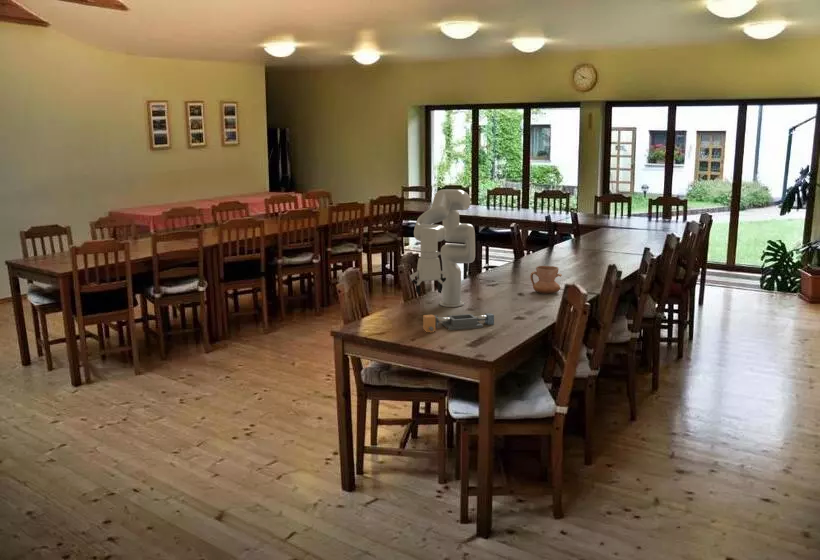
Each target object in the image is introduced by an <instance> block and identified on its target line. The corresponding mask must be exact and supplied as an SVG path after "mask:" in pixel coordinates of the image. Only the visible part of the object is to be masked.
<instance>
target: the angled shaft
mask: <svg viewBox="0 0 820 560" xmlns="http://www.w3.org/2000/svg"><path fill="white" fill-rule="evenodd" d="M434 316H435V328H437V327H438V326H439V323H441V324H442V323H450V318H447V317H443V316H442V317H439V315H434ZM437 325H438V326H437Z"/></svg>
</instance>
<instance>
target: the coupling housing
mask: <svg viewBox="0 0 820 560" xmlns="http://www.w3.org/2000/svg"><path fill="white" fill-rule="evenodd" d="M475 316H476V315H474V314H472V313H462V314H452V315H447V317H446V318H450V323H441V324H442V325H443V326H444V327H445V328H446V327H447V328H448V329H449V330H448V329H447V328H446V329H447V330H448V331H456V330H457V331H458V330H459V331H460V330H470V329H471V330H472V329H481V328H483V327H484V325H483V324H482V323H481V322H480V321H477V318H476V317H475Z"/></svg>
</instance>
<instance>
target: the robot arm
mask: <svg viewBox="0 0 820 560" xmlns="http://www.w3.org/2000/svg"><path fill="white" fill-rule="evenodd" d="M470 205H471V197H470V195H469V194H468V192H466V191H464V190H463V189H447V188H445V189H440V190H437V192H436V193H435V194H434V197H433V201H432V205H431V207H430V209H428V210H426V211H424V212H423V213H422V214H420V215H419V216H418V217H417V220H416V223H415V225H414V230H413V237H414V238H415V240H417V241H419V242H420V257H418V260H417V267H416V271H415V272H414V273H412V274H410V275H409V277H410V279H411V281H412V282H413V284H414V285H415V292H416V293H417V295H421V283H422V282H431V281H432V282H433V281H434V282H435V281H437V282H438V283H437V293H439V294H442V300H440V301H439V305H440V306H441V307H445V308H446V307H447V308H457V307H459V308H460V307H462V306H464V305H465V302H464V301H463V300H462V269H461V267H460V266H459V264H471V263H473V262H474V261H475V260H476V259H475V258H476V232H475V227H474V225H473V224H472V223H464V222H463V223H461V222H460V212H459V211H466V210H468V209H469V208H470ZM440 222H442V224H437V223H440ZM442 241H445V242H449V243H446V244H444V245H442V246H441V248H440V251H439V250H438V249H439V248H438V247H439V246H438V245H439V244H438V243H439V242H442ZM439 256H440V257H441V260H440V257H439ZM441 265H442V270H441ZM415 277H416V278H417V280H416V279H415Z"/></svg>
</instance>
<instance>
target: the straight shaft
mask: <svg viewBox="0 0 820 560" xmlns="http://www.w3.org/2000/svg"><path fill="white" fill-rule="evenodd" d="M474 316H475V317H476V318H477V321H478V322H481V321H484V324H486V325H488V326H491V325H492V326H493V325H495V314H493V313H492V312H488V313H484V314H483V315H482V314H481V315H480V314H479V315H474Z"/></svg>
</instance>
